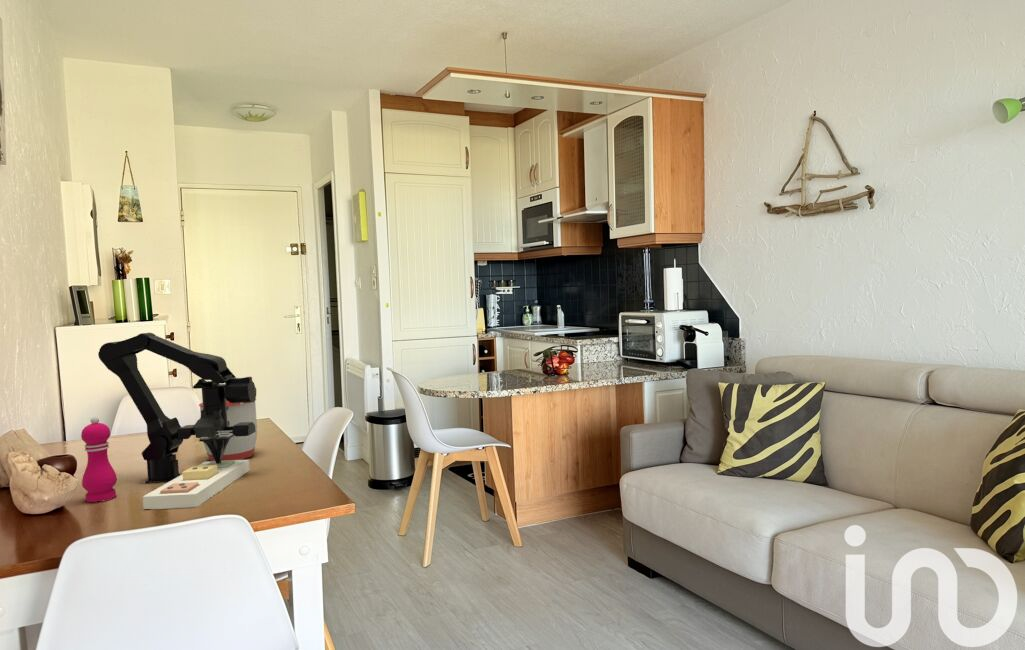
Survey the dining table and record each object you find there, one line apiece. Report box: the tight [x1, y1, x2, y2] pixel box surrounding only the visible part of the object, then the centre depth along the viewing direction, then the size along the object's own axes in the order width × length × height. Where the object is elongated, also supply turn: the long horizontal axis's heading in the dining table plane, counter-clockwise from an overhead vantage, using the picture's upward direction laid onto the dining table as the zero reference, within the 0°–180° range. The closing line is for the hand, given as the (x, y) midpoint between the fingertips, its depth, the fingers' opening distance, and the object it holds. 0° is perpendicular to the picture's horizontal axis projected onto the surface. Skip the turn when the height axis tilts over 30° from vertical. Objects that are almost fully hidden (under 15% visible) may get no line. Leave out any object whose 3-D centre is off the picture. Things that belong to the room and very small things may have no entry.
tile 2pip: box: [181, 465, 218, 481], centre depth 171 cm, size 6×6×2 cm
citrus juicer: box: [198, 398, 258, 461], centre depth 204 cm, size 16×17×20 cm
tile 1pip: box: [207, 460, 235, 468], centre depth 182 cm, size 6×6×2 cm
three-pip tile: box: [160, 482, 199, 494], centre depth 160 cm, size 6×6×2 cm
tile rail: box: [142, 459, 250, 510], centre depth 171 cm, size 12×32×3 cm, turn 1°
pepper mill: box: [80, 416, 118, 503], centre depth 165 cm, size 7×7×20 cm
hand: (218, 462), depth 182 cm, fingers closed, pressing on tile 1pip
